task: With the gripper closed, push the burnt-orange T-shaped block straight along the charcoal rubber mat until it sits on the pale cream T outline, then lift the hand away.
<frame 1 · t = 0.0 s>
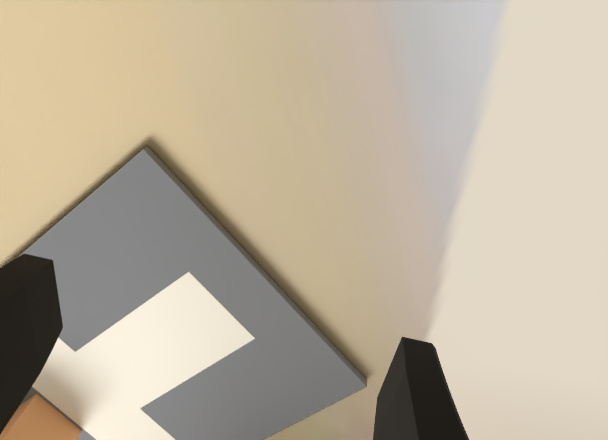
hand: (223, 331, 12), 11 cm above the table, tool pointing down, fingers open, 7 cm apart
mat: (43, 419, 29), on the table
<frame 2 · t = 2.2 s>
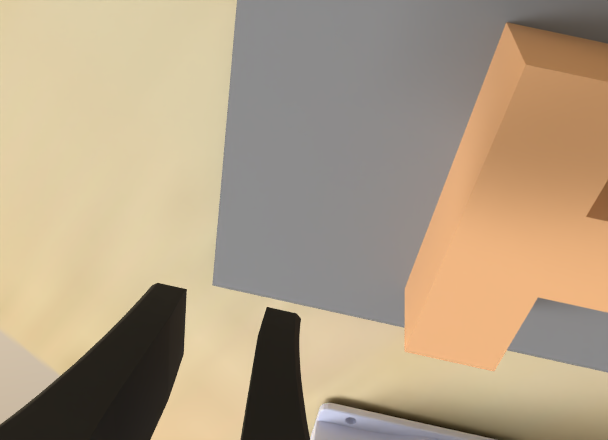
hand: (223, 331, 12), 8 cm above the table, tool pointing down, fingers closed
t block: (601, 211, 18), resting on mat
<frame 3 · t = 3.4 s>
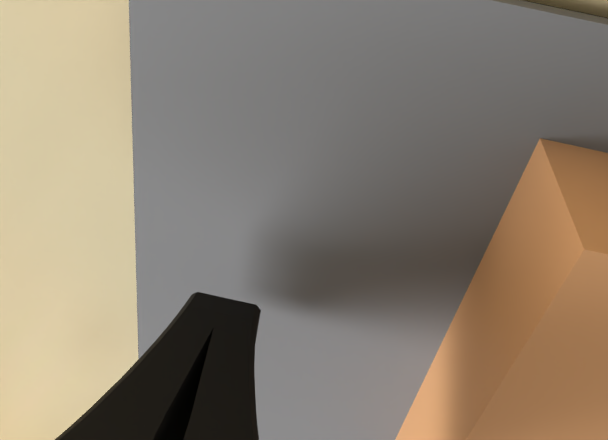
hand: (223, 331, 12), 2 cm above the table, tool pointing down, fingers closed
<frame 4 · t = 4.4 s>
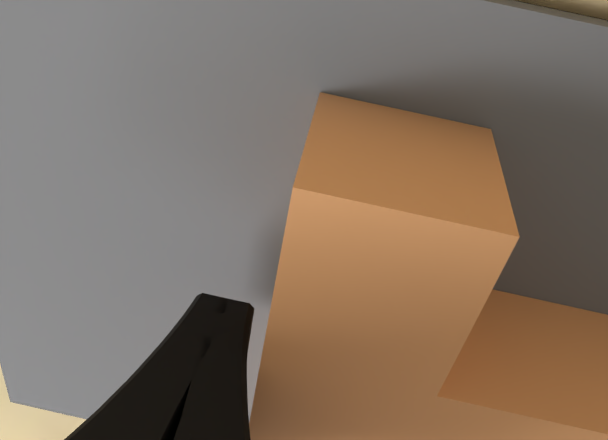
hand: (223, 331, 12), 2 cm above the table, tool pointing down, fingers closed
t block: (497, 342, 13), resting on mat, touching gripper
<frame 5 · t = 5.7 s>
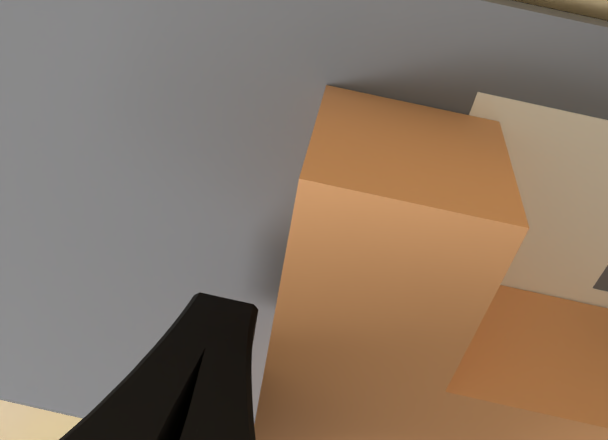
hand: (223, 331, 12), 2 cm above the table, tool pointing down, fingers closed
mat: (310, 288, 13), on the table
t block: (506, 339, 13), resting on mat, touching gripper
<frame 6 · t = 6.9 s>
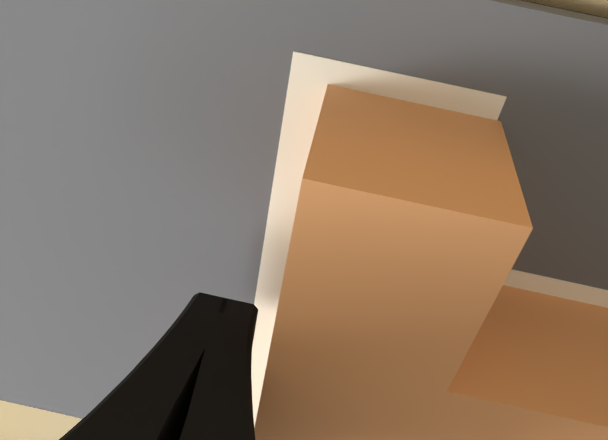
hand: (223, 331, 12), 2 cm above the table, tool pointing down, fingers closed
mat: (180, 259, 13), on the table
t block: (505, 338, 13), resting on mat, touching gripper
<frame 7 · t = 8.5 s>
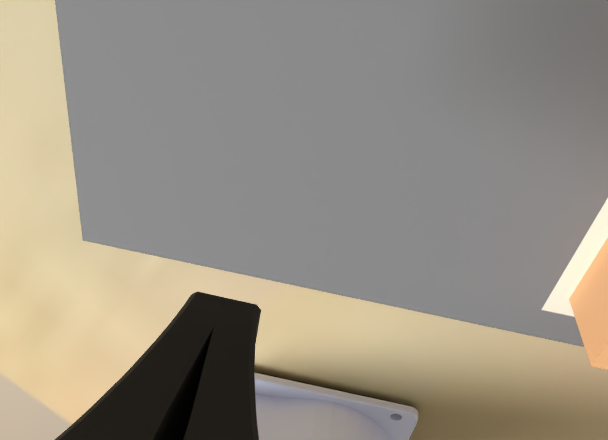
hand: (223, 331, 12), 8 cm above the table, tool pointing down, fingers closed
mat: (551, 164, 18), on the table
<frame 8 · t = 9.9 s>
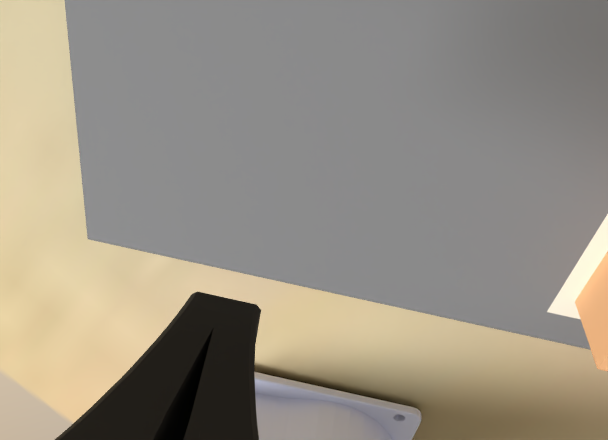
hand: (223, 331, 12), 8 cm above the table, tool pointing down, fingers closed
mat: (560, 167, 18), on the table
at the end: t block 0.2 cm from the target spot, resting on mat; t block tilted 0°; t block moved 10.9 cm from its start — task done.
